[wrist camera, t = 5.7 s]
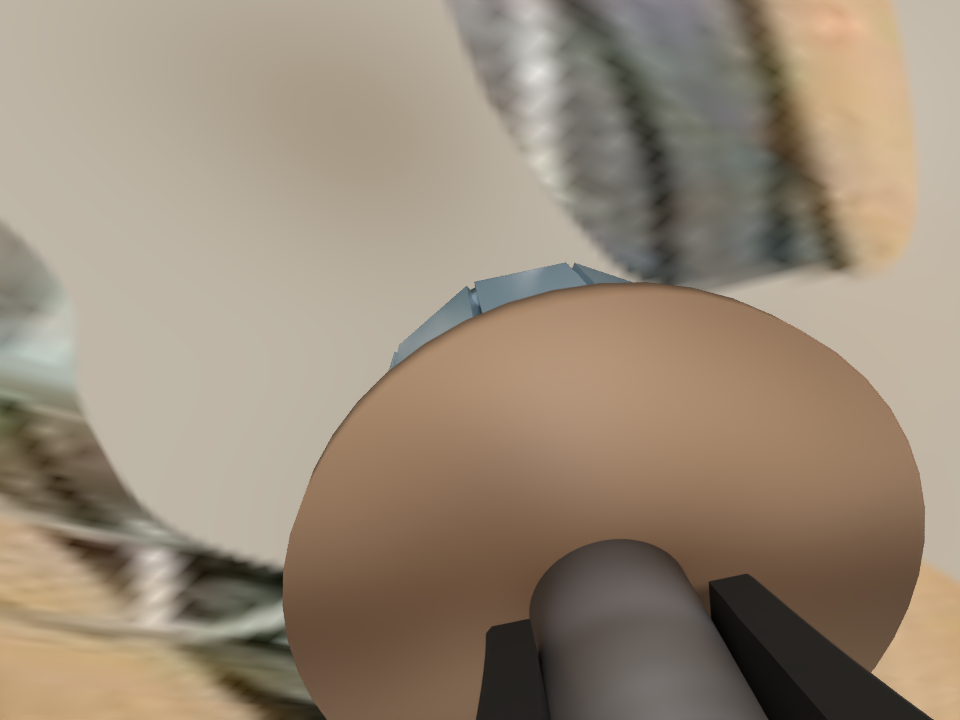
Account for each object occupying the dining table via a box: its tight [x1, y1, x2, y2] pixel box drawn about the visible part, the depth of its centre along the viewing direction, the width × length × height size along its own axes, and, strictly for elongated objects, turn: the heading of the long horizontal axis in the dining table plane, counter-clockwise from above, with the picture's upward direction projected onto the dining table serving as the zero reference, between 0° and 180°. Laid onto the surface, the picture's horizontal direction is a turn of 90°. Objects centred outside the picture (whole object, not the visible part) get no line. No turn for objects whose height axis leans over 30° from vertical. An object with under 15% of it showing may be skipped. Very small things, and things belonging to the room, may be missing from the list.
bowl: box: [389, 263, 633, 370], centre depth 14 cm, size 9×9×4 cm
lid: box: [283, 282, 925, 720], centre depth 9 cm, size 11×11×4 cm
